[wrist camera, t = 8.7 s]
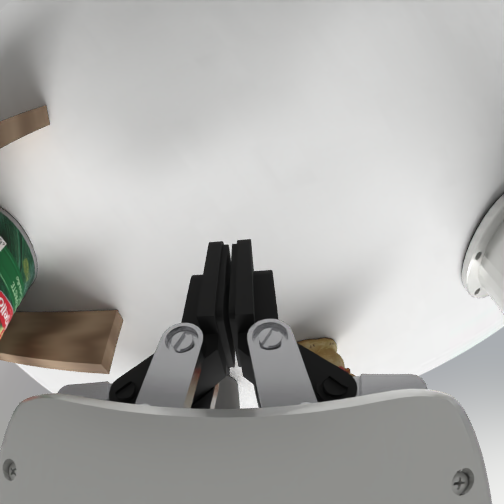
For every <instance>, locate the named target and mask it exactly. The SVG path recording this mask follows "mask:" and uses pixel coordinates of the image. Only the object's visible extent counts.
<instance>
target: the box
mask: <svg viewBox="0 0 504 504" xmlns="http://www.w3.org/2000/svg"><path fill="white" fill-rule="evenodd" d="M47 125H50V123H49V118H48V112H47V107H46V105H45V106H42V107H39V108H36V109H33V110H30V111H27V112H24V113H21V114H18V115H16V116H13V117H10V118H8V119H5V120H3V121H0V148H2V147H4V146H6V145H8V144H9V143H11V142H13V141H15V140H17V139H19V138H21V137H23V136H25V135H28V134H30V133H32V132H34V131H36V130H38V129H41V128H43V127H45V126H47ZM122 323H123V319H122V317H121V316H120V314H119V312H118V310H105V311H75V312H15V313H14V314H13V316H12V318H11V320H10V322H9V323H8V326H7V328H6V329H5V331H4V333H3V336H2V338H1V339H0V360H4V361H8V362H13V363H18V364H24V365H30V366H36V367H43V368H50V369H58V370H67V371H77V372H88V373H102V374H109V372H110V368H111V364H112V360H113V356H114V352H115V348H116V344H117V341H118V337H119V333H120V330H121V326H122Z"/></svg>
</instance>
